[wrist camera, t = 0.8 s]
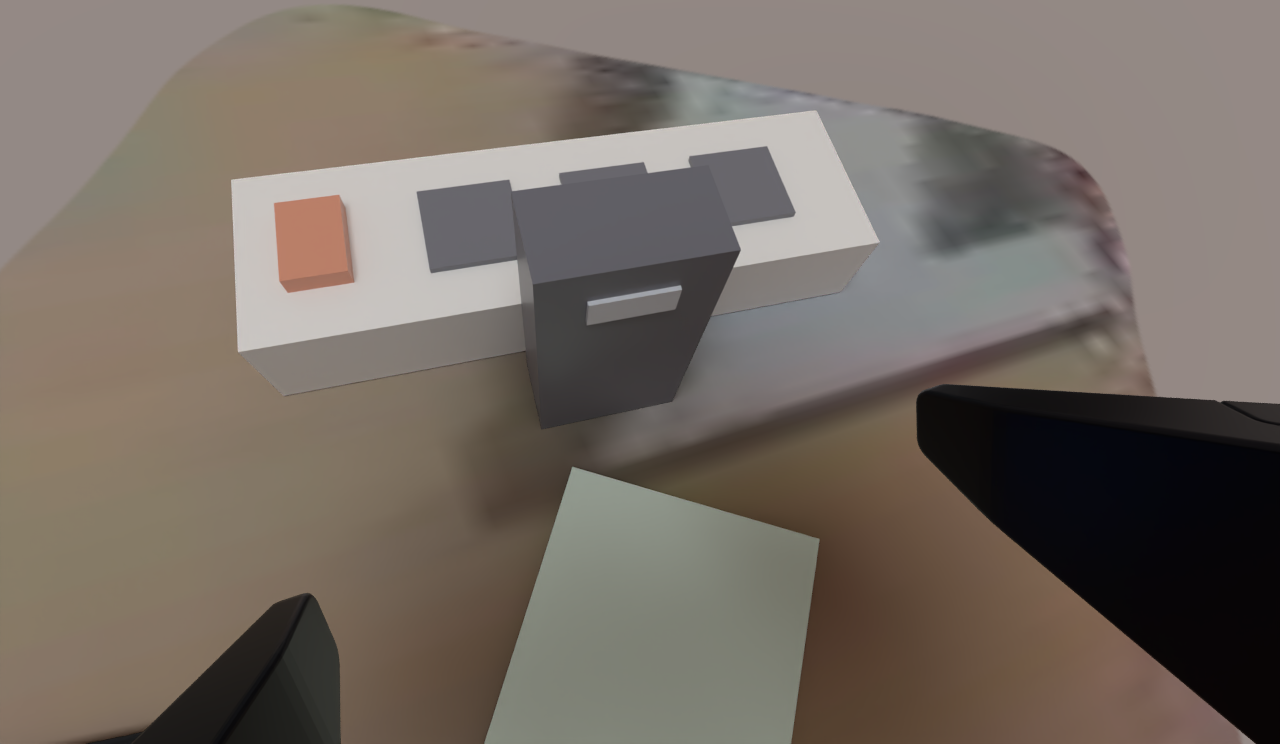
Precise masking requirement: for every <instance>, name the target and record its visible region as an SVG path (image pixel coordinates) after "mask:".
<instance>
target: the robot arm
mask: <svg viewBox="0 0 1280 744" xmlns="http://www.w3.org/2000/svg"><path fill="white" fill-rule="evenodd" d="M916 412H917V441H918V445H919V447H920V449H921V451H922V452H923V454H924V455H925V456H926V457H927V458H928V459H929V460H930V461H931V462H932V463H933V464H934V465H935V466H936V467H937V468H938V469H939V470H940V471H941V472H942V473H943V474H944V475H945V476H946V477H947V478H948V479H949V480H950V481H951V482H952V483H953V484H954V485H955V486H956V487H957V488H958V489H959V490H960V491H961V492H962V493H963V494H964V495H965V496H966V497H967V498H968V499H969V500H970V501H971V503H972V504H973V505H974V506H975V507H976V508H977V509H978V510H979V511H981V512H982V513H983V514H984V515H985V516H986V517H987V518H988V519H989V520H990V521H991V522H992V523H993V524H994V525H996V526H997V527H998V528H999V529H1000V530H1001V531H1002V532H1004V533H1005V534H1006V535H1007V536H1008V537H1010V538H1011V539H1012V540H1013V541H1014V542H1015V543H1017V544H1018V545H1019V546H1020V547H1021V548H1023V549H1024V550H1025V551H1026V552H1027V553H1029V554H1030V555H1031V556H1032V557H1033V558H1035V559H1036V560H1037V561H1038V562H1039V563H1041V564H1042V565H1043V566H1044V567H1045V568H1047V569H1048V570H1049V571H1050V572H1051V573H1052V574H1054V575H1055V576H1056V577H1057V578H1058V579H1060V580H1061V581H1062V582H1063V583H1064V584H1066V585H1067V586H1068V587H1069V588H1070V589H1072V590H1073V591H1074V592H1075V593H1076V594H1078V595H1079V596H1080V597H1081V598H1082V599H1084V600H1085V601H1086V602H1087V603H1088V604H1089V605H1091V606H1092V607H1093V608H1094V609H1095V610H1097V611H1098V612H1099V613H1100V614H1101V615H1103V616H1104V617H1105V618H1106V619H1107V620H1109V621H1110V622H1111V623H1112V624H1113V625H1115V626H1116V627H1117V628H1118V629H1119V630H1121V631H1122V632H1123V633H1124V634H1125V635H1126V636H1128V637H1129V638H1130V639H1131V640H1132V641H1134V642H1135V643H1136V644H1137V645H1138V646H1140V647H1141V648H1142V649H1143V650H1144V651H1146V652H1147V653H1148V654H1149V655H1150V656H1152V657H1153V658H1154V659H1155V660H1156V661H1158V662H1159V663H1160V664H1161V665H1162V666H1163V667H1165V668H1166V669H1167V670H1168V671H1169V672H1171V673H1172V674H1173V675H1174V676H1175V677H1177V678H1178V679H1179V680H1180V681H1181V682H1183V683H1184V684H1185V685H1186V686H1187V687H1189V688H1190V689H1191V690H1192V691H1193V692H1195V693H1196V694H1197V695H1198V696H1199V697H1200V698H1202V699H1203V700H1204V701H1205V702H1206V703H1208V704H1209V705H1210V706H1211V707H1212V708H1214V709H1215V710H1216V711H1217V712H1218V713H1220V714H1221V715H1222V716H1223V717H1224V718H1226V719H1227V720H1228V721H1229V722H1230V723H1231V724H1233V725H1234V726H1235V727H1236V728H1237V729H1239V730H1240V731H1241V732H1242V733H1243V734H1245V735H1246V736H1247V737H1248V738H1250V739H1251V740H1252V741H1253V742H1254V743H1256V744H1280V404H1270V403H1269V404H1268V403H1252V402H1234V401H1222V402H1217V401H1215V400H1200V399H1183V398H1166V397H1150V396H1133V395H1117V394H1100V393H1083V392H1067V391H1050V390H1034V389H1017V388H1000V387H984V386H967V385H950V384H942V385H938V386H935V387H932V388H929V389H926V390H924V391H922V392H921V393H920V394H919V395H918V397H917V401H916ZM131 744H341V738H340V664H339V654H338V649H337V646H336V643H335V640H334V638H333V636H332V633H331V631H330V629H329V627H328V624H327V622H326V620H325V617H324V615H323V613H322V611H321V608H320V606H319V604H318V602H317V600H316V598H315V597H314V596H313V595H311V594H309V593H304V594H300V595H297V596H294V597H291V598H288V599H285V600H282V601H279V602H277V603H275V604H273V605H272V606H271V607H270V608H269V609H268V610H267V611H266V612H265V613H264V614H263V615H262V616H261V617H260V618H259V619H258V620H257V621H256V622H255V623H254V624H253V625H252V626H251V627H250V628H249V629H248V630H247V631H246V632H245V633H244V634H243V635H242V636H241V637H240V638H239V639H238V640H237V641H235V642H234V643H233V644H232V645H231V646H230V647H229V648H228V649H227V650H226V651H225V652H224V653H223V654H222V655H221V656H220V657H219V658H218V659H217V660H216V661H215V662H214V663H213V664H212V665H211V666H210V667H209V668H208V669H207V670H206V671H205V672H204V673H203V674H202V675H201V676H200V677H199V678H198V679H197V680H196V681H195V682H194V683H193V684H192V685H191V686H190V687H189V688H188V689H186V690H185V691H184V692H183V693H182V694H181V695H180V696H179V697H178V698H177V699H176V700H175V701H174V702H173V703H172V704H171V705H170V706H169V707H168V708H167V709H166V710H165V711H164V712H163V713H162V714H161V715H160V716H159V717H158V718H157V719H156V720H155V721H154V722H153V723H152V724H151V725H150V726H149V727H148V728H147V729H146V730H145V731H144V732H143V733H142V734H141V735H140V736H138V737H137V738H136V739H135V740H134V741H133V742H132V743H131Z"/></svg>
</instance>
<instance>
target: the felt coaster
mask: <svg viewBox="0 0 1280 744" xmlns="http://www.w3.org/2000/svg"><path fill="white" fill-rule="evenodd" d="M819 540H820V539H818V538H815V537H811V536H808V535H804V534H801V533H797V532H794V531H791V530H787V529H784V528H780V527H777V526H773V525H770V524H767V523H763V522H760V521H756V520H753V519H749V518H746V517H743V516H739V515H736V514H732V513H729V512H725V511H722V510H719V509H715V508H712V507H708V506H705V505H701V504H698V503H695V502H691V501H688V500H684V499H681V498H678V497H674V496H671V495H667V494H664V493H660V492H657V491H654V490H650V489H647V488H643V487H640V486H636V485H633V484H630V483H626V482H623V481H619V480H616V479H612V478H609V477H606V476H602V475H599V474H595V473H592V472H588V471H585V470H582V469H578V468H575V467H572V470H571V473H570V476H569V479H568V483H567V486H566V489H565V492H564V495H563V498H562V501H561V505H560V508H559V511H558V514H557V517H556V520H555V523H554V527H553V530H552V533H551V536H550V539H549V542H548V545H547V548H546V552H545V555H544V558H543V561H542V564H541V567H540V570H539V574H538V577H537V580H536V583H535V586H534V589H533V592H532V595H531V599H530V602H529V605H528V608H527V611H526V614H525V617H524V621H523V624H522V627H521V630H520V633H519V636H518V639H517V642H516V646H515V649H514V652H513V655H512V658H511V661H510V664H509V668H508V671H507V674H506V677H505V680H504V683H503V686H502V690H501V693H500V696H499V699H498V702H497V705H496V708H495V711H494V715H493V718H492V721H491V724H490V727H489V730H488V733H487V737H486V740H485V743H484V744H791V740H792V733H793V726H794V719H795V712H796V704H797V697H798V690H799V683H800V676H801V669H802V661H803V654H804V647H805V640H806V633H807V626H808V619H809V611H810V604H811V597H812V590H813V583H814V576H815V569H816V561H817V554H818V547H819Z"/></svg>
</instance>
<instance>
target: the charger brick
mask: <svg viewBox="0 0 1280 744" xmlns="http://www.w3.org/2000/svg"><path fill="white" fill-rule="evenodd" d="M511 200H512V210H513V221H514V231H515V242H516V252H517V263H518V273H519V284H520V294H521V305H522V315H523V326H524V336H525V347H526V357H527V367H528V371H529V376H530V380H531V385H532V389H533V394H534V398H535V403H536V407H537V412H538V416H539V421H540V425H541V429H546V428H550V427H555V426H560V425H564V424H569V423H574V422H578V421H583V420H588V419H592V418H597V417H602V416H606V415H611V414H616V413H620V412H625V411H630V410H634V409H639V408H644V407H649V406H653V405H658V404H663V403H667V402H672V400H673V398H674V396H675V394H676V392H677V389H678V387H679V385H680V383H681V381H682V378H683V376H684V374H685V372H686V370H687V368H688V365H689V363H690V361H691V359H692V357H693V354H694V352H695V350H696V348H697V346H698V343H699V341H700V339H701V337H702V335H703V332H704V330H705V328H706V326H707V324H708V321H709V319H710V317H711V315H712V313H713V311H714V308H715V306H716V304H717V302H718V300H719V297H720V295H721V293H722V291H723V289H724V286H725V284H726V282H727V280H728V278H729V275H730V273H731V271H732V269H733V267H734V264H735V262H736V260H737V258H738V256H739V254H740V251H741V248H740V246H739V243H738V241H737V238H736V235H735V233H734V230H733V228H732V225H731V222H730V220H729V217H728V215H727V212H726V209H725V207H724V204H723V202H722V199H721V196H720V194H719V191H718V188H717V186H716V183H715V181H714V178H713V175H712V173H711V170H710V168H709V165H705V166H698V167H690V168H683V169H675V170H668V171H660V172H653V173H645V174H638V175H630V176H623V177H615V178H608V179H600V180H593V181H585V182H578V183H570V184H563V185H555V186H548V187H540V188H533V189H525V190H518V191H511Z"/></svg>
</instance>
